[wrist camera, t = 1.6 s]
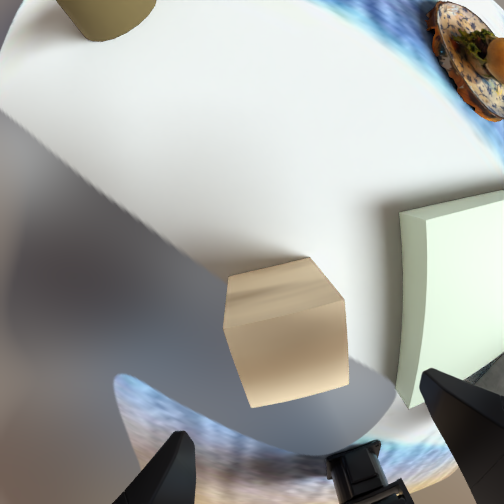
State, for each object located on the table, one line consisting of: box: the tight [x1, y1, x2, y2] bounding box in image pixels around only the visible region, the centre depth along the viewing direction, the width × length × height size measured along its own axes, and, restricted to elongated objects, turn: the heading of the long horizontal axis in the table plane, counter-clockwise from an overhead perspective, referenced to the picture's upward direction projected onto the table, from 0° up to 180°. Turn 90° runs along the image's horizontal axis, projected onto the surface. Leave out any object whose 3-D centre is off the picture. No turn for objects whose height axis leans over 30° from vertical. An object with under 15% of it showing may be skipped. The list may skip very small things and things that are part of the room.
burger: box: [425, 1, 504, 122], centre depth 9 cm, size 12×12×8 cm
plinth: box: [395, 190, 504, 409], centre depth 16 cm, size 16×16×3 cm
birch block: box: [223, 257, 349, 408], centre depth 14 cm, size 5×5×6 cm
